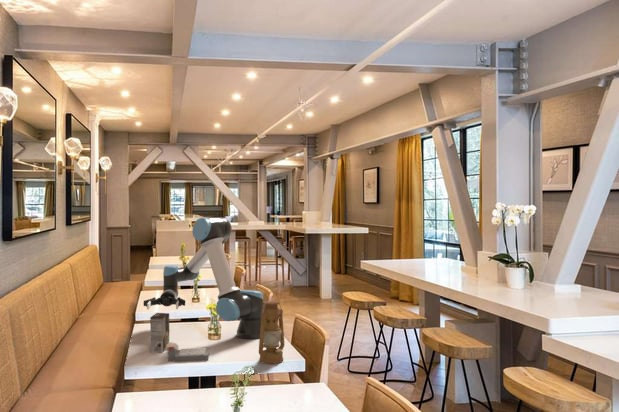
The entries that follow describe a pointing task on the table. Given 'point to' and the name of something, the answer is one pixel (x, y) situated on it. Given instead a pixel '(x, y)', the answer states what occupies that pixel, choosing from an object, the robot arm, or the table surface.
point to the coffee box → (159, 332)
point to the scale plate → (192, 352)
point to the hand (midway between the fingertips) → (162, 306)
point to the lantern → (271, 333)
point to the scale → (174, 356)
